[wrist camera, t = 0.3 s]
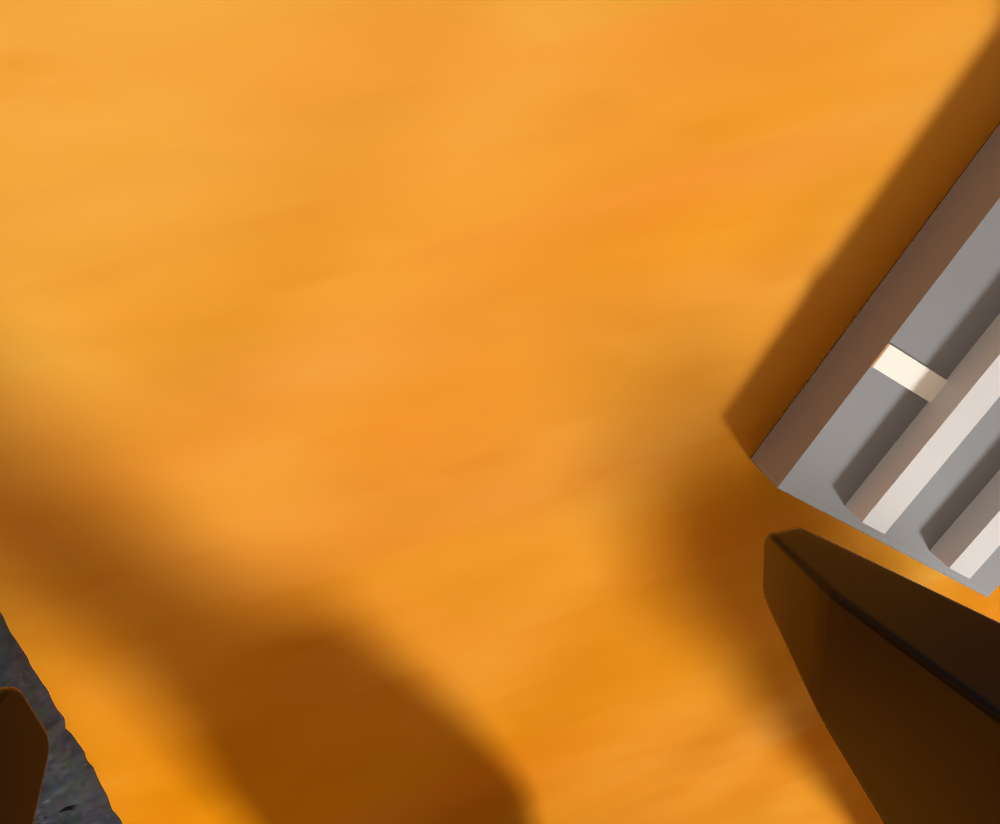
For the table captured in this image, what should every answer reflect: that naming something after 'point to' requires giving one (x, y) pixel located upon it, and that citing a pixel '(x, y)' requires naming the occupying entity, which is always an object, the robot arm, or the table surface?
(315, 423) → the table surface
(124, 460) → the table surface
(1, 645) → the dark slate chunk
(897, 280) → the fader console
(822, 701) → the robot arm
